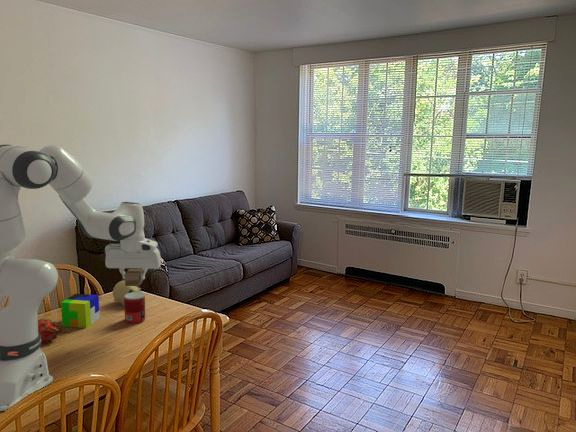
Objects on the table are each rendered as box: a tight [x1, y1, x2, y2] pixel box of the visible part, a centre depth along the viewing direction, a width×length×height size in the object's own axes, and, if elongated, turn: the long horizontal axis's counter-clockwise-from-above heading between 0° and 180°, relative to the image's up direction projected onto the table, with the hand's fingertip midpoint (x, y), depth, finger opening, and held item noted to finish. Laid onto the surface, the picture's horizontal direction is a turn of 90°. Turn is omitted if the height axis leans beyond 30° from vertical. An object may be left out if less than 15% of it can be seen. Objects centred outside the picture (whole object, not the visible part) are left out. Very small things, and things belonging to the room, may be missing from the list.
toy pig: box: [112, 280, 142, 307], centre depth 197 cm, size 10×12×11 cm
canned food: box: [123, 292, 146, 325], centre depth 180 cm, size 8×8×11 cm
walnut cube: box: [124, 268, 144, 287], centre depth 168 cm, size 5×5×5 cm
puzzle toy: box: [60, 293, 100, 329], centre depth 177 cm, size 10×10×10 cm
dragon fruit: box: [38, 317, 62, 344], centre depth 161 cm, size 8×8×12 cm
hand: (133, 279), depth 168 cm, fingers closed on walnut cube, 5 cm apart
